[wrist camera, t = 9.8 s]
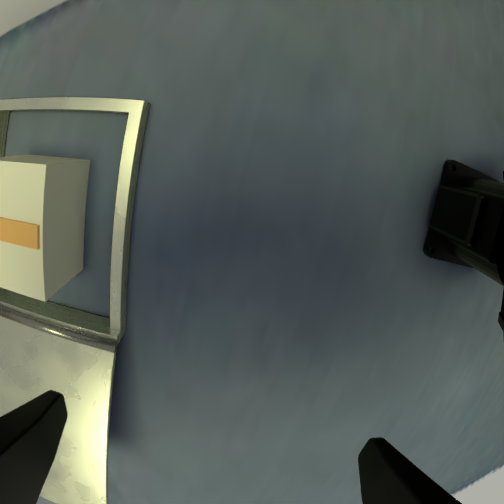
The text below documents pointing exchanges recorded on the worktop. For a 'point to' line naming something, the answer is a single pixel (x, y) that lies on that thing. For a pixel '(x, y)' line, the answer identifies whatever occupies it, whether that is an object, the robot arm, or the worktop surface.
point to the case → (73, 330)
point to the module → (41, 222)
